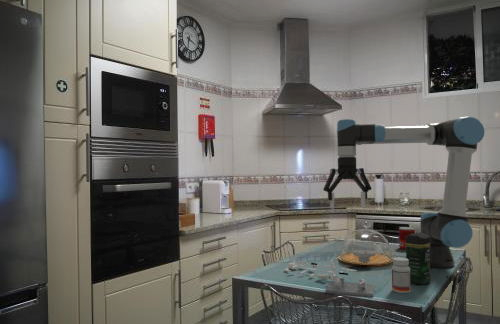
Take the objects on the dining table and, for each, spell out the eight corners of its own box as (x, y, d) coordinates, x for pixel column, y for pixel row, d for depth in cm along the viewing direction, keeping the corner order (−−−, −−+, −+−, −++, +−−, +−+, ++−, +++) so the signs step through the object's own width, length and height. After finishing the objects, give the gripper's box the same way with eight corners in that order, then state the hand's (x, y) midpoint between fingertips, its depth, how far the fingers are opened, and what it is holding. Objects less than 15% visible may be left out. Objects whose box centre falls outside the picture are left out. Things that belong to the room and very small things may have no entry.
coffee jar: (424, 286, 146) (422, 235, 147) (402, 282, 152) (401, 233, 152) (434, 281, 153) (433, 232, 154) (413, 277, 159) (412, 230, 159)
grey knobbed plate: (375, 287, 147) (374, 277, 147) (373, 297, 135) (373, 286, 135) (330, 283, 152) (330, 274, 152) (325, 292, 141) (325, 282, 141)
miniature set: (360, 277, 155) (341, 288, 147) (295, 268, 181) (275, 277, 174) (357, 260, 155) (338, 271, 147) (292, 254, 181) (273, 262, 173)
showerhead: (355, 251, 174) (351, 247, 184) (355, 268, 174) (351, 263, 184) (377, 252, 174) (372, 247, 183) (377, 268, 173) (372, 263, 183)
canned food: (413, 250, 211) (413, 229, 211) (397, 248, 216) (397, 228, 216) (416, 247, 218) (416, 227, 218) (401, 246, 222) (400, 226, 222)
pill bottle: (397, 287, 146) (396, 256, 146) (413, 291, 142) (413, 258, 142) (388, 291, 142) (388, 258, 142) (405, 294, 137) (404, 261, 138)
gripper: (370, 156, 173) (371, 206, 172) (315, 157, 169) (316, 208, 168) (379, 156, 165) (380, 207, 165) (321, 156, 161) (322, 209, 161)
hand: (347, 208), depth 167 cm, fingers open, 13 cm apart
